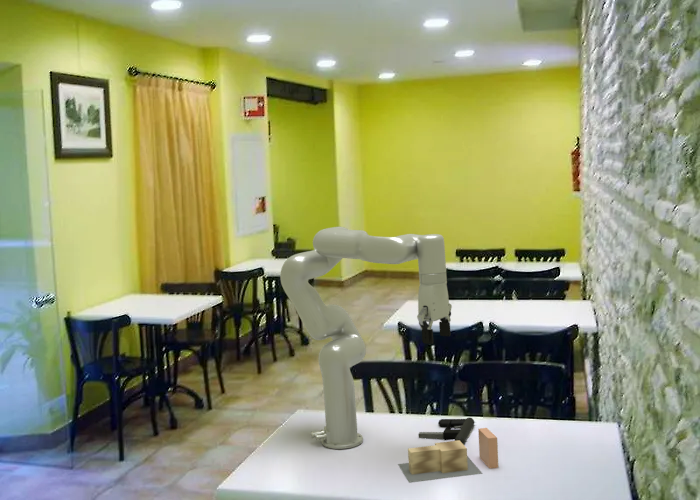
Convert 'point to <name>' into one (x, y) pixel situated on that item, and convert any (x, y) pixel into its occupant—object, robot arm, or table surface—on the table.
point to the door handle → (451, 430)
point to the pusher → (438, 458)
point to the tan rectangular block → (488, 448)
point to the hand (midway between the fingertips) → (436, 339)
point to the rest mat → (438, 473)
